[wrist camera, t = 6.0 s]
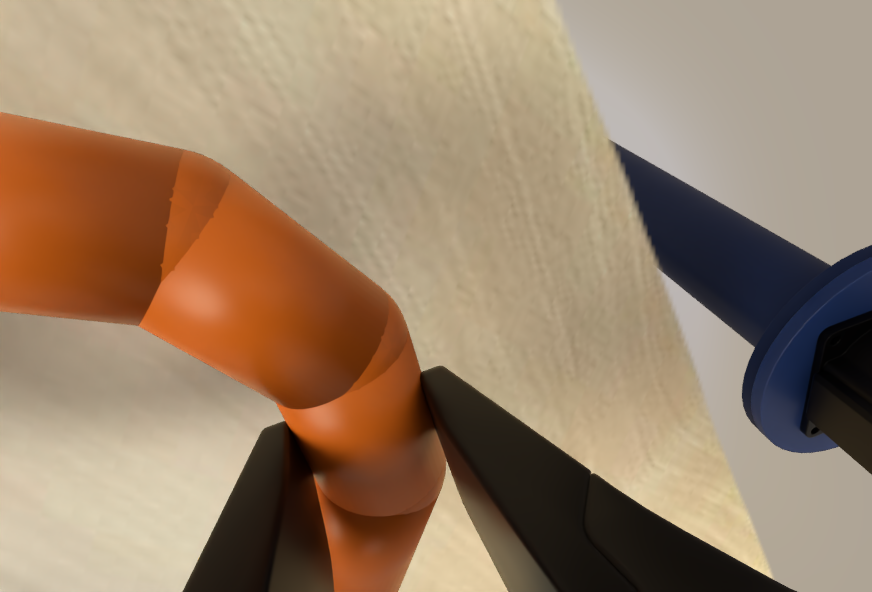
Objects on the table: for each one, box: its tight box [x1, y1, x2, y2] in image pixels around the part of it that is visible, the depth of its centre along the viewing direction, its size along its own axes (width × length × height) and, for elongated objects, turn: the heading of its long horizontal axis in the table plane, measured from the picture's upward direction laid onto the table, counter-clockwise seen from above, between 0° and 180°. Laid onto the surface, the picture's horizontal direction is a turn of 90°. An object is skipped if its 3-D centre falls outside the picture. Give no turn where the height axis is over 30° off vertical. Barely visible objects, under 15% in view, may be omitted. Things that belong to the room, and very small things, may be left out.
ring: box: [0, 112, 446, 592], centre depth 9 cm, size 12×12×2 cm
